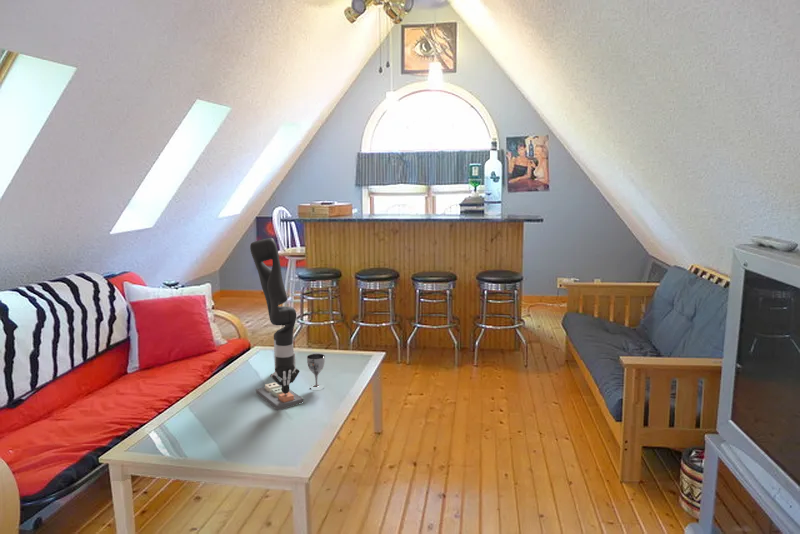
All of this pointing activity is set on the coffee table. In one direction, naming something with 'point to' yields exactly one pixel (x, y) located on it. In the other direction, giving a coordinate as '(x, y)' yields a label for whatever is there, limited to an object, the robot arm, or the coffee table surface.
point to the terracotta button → (286, 397)
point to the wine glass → (316, 364)
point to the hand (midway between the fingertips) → (285, 392)
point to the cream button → (271, 386)
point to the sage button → (277, 391)
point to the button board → (275, 400)
